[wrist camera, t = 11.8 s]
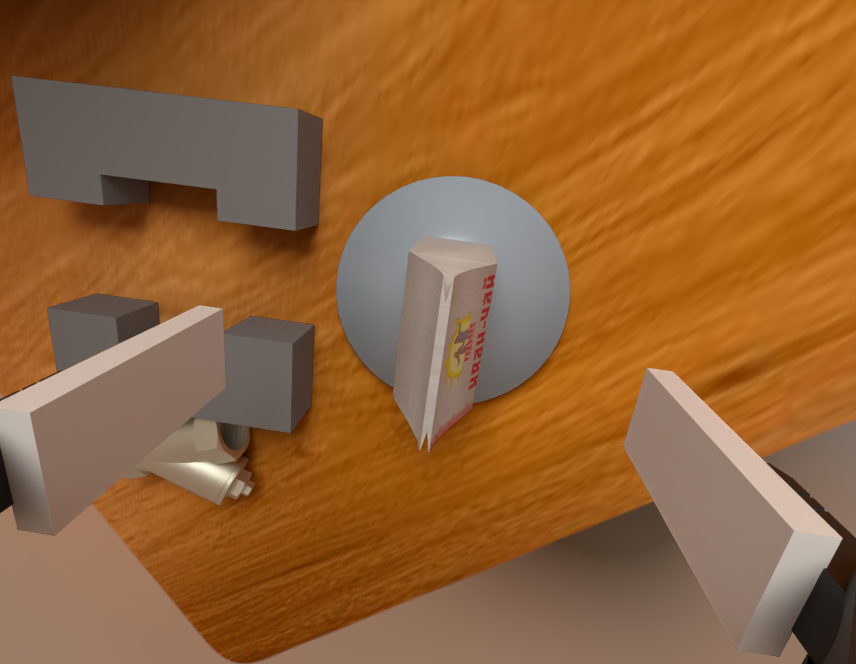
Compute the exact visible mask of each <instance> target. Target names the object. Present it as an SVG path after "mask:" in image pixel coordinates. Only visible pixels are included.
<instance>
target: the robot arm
mask: <svg viewBox="0 0 856 664" xmlns="http://www.w3.org/2000/svg"><path fill="white" fill-rule="evenodd" d="M225 388H226V379H225V352H224V325H223V309H222V308H215V307H208V306H201V305H199V306H197V307H195V308H193V309H191V310H188V311H186V312H184V313H182V314H180V315H178V316H176V317H174V318H172V319H170V320H168V321H166V322H164V323H161V324H159V325H157V326H155V327H153V328H151V329H149V330H147V331H145V332H143V333H141V334H139V335H137V336H134V337H132V338H130V339H128V340H126V341H124V342H122V343H120V344H118V345H116V346H114V347H112V348H109V349H107V350H105V351H103V352H101V353H99V354H97V355H95V356H93V357H91V358H89V359H87V360H85V361H82V362H80V363H78V364H76V365H74V366H72V367H70V368H68V369H64V370H61V371H58V372H56V373H54V374H52V375H50V376H48V377H46V378H44V379H42V380H40V382H39V383H36V382H35V383H33V384H31V385H29V386H27V387H25V388H23V390H22V391H16V392H14V393H12V394H10V395H8V396H6V397H4V398H2V399H0V513H1V512H3V511H4V510H5V509H7V508H8V507H10V506H11V505H12V507H13V512H14V516H15V520H16V524H17V529H18V530H23V531H29V532H35V533H41V534H47V535H53V536H55V535H56V534H57V533H58V532H60V531H61V530H62V529H63V528H64V527H65V526H66V525H68V524H69V523H70V522H71V521H72V520H73V519H75V517H77V516H78V515H79V514H80V513H81V512H82V511H84V510H85V509H86V508H87V507H88V506H90V505H91V504H92V503H93V502H94V501H95V500H96V499H98V498H99V497H100V496H101V495H102V494H103V493H105V492H106V491H107V490H108V489H109V488H110V487H111V486H113V485H114V484H115V483H116V482H117V481H118V480H120V479H121V478H122V477H123V476H124V475H125V474H126V473H128V472H129V471H130V470H131V469H132V468H133V467H135V466H136V465H137V464H138V463H139V462H140V461H141V460H143V459H144V458H145V457H146V456H147V455H148V454H150V453H151V452H152V451H153V450H154V449H155V448H156V447H158V446H159V445H160V444H161V443H162V442H163V441H165V440H166V439H167V438H168V437H169V436H170V435H171V434H173V433H174V432H175V431H176V430H177V429H178V428H180V427H181V426H182V425H183V424H184V423H185V422H186V421H188V420H189V419H190V418H191V417H192V416H193V415H195V414H196V413H197V412H198V411H199V410H200V409H201V408H203V407H204V406H205V405H206V404H207V403H208V402H210V401H211V400H212V399H213V398H214V397H215V396H216V395H218V394H219V393H220V392H221V391H222V390H223V389H225ZM623 447H624V449H625V450H626V452H627V454H628V456H629V458H630V459H631V461H632V463H633V465H634V467H635V468H636V470H637V472H638V474H639V476H640V477H641V479H642V481H643V483H644V485H645V486H646V488H647V490H648V492H649V494H650V495H651V497H652V499H653V501H654V502H655V504H656V506H657V508H658V510H659V511H660V513H661V515H662V517H663V519H664V520H665V522H666V524H667V526H668V528H669V529H670V531H671V533H672V535H673V537H674V538H675V540H676V542H677V544H678V546H679V547H680V549H681V551H682V553H683V555H684V556H685V558H686V560H687V562H688V564H689V565H690V567H691V568H692V571H693V573H694V574H695V576H696V578H697V580H698V582H699V583H700V585H701V587H702V589H703V591H704V592H705V594H706V596H707V598H708V600H709V601H710V603H711V605H712V607H713V608H714V610H715V612H716V614H717V616H718V618H719V619H720V621H721V623H722V625H723V626H724V628H725V630H726V632H727V634H728V636H729V637H730V639H731V641H732V643H733V644H734V646H735V648H736V650H741V651H747V652H753V653H759V654H765V655H771V656H776V657H780V655H781V653H782V651H783V649H784V647H785V645H786V644H787V642H788V640H789V638H790V636H791V634H792V632H793V633H794V634H795V636H796V637H797V639H798V640H799V641H800V643H801V644H802V646H803V647H804V649H805V650H806V651H807V653H808V654H807V655H806V657H805V659H804V661H803V663H802V664H856V538H855V537H854V536H853V535H852V534H851V533H850V532H849V531H848V530H847V529H846V528H844V527H843V526H842V525H841V524H840V523H839V522H838V521H837V520H836V519H835V518H834V517H833V516H832V515H831V514H830V513H829V512H825V511H824V508H823V507H822V506H821V505H820V504H819V503H818V502H817V501H816V500H815V499H814V498H810V494H809V493H808V492H807V491H806V490H804V489H803V488H802V487H801V486H800V485H799V484H798V483H797V482H796V481H795V480H794V479H793V478H791V477H790V476H788V475H787V474H785V473H783V472H782V471H780V470H779V469H777V468H776V467H774V466H773V465H771V464H769V463H765V462H764V461H763V460H762V459H761V458H760V457H759V456H758V455H757V454H756V453H755V452H754V451H753V450H752V449H751V448H750V447H749V446H748V445H747V444H746V443H745V442H744V441H743V440H742V439H741V438H740V437H739V436H738V435H737V434H736V433H735V432H734V431H733V430H732V429H731V428H730V427H729V426H728V425H727V424H726V423H725V422H724V421H723V420H722V419H721V418H720V417H719V416H718V415H717V414H716V413H715V412H713V411H712V410H711V409H710V408H709V407H708V406H707V405H706V404H705V403H704V402H703V401H702V400H701V399H700V398H699V397H698V396H697V395H696V394H695V393H694V392H693V391H692V390H691V389H690V388H689V387H688V386H687V385H686V384H685V383H684V382H683V381H682V380H681V379H680V378H679V377H678V376H677V375H676V374H675V373H674V372H672V371H665V370H658V369H651V368H647V369H646V373H645V376H644V379H643V382H642V386H641V389H640V392H639V396H638V399H637V402H636V406H635V409H634V412H633V416H632V419H631V422H630V425H629V429H628V432H627V435H626V439H625V442H624V445H623Z"/></svg>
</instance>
